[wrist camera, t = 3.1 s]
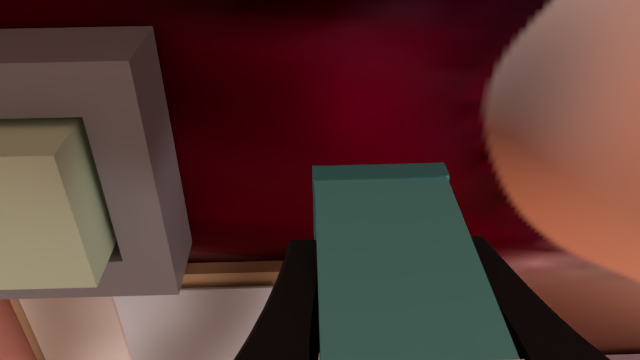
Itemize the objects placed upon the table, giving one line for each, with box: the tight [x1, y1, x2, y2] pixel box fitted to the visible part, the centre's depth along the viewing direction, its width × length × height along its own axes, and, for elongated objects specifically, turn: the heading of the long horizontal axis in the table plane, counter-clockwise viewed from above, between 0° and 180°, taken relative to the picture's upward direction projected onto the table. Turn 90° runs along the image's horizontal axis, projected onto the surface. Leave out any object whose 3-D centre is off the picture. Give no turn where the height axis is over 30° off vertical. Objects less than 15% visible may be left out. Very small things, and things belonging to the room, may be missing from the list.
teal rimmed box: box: [312, 163, 525, 360], centre depth 12 cm, size 3×3×7 cm
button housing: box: [0, 26, 192, 300], centre depth 17 cm, size 8×8×3 cm
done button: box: [0, 117, 117, 290], centre depth 16 cm, size 4×4×3 cm
